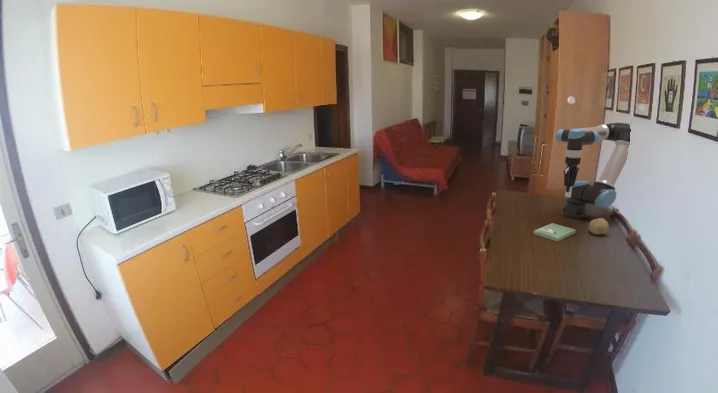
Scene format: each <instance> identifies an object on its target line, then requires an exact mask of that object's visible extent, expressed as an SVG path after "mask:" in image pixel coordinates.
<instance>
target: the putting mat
mask: <svg viewBox="0 0 718 393" xmlns="http://www.w3.org/2000/svg"><path fill="white" fill-rule="evenodd" d="M549 229H552V230H553V231H554V233H553V232H550V231H548V230H549ZM576 231H577V229H575V228H571V227H568V226H563V225H560V224H556V223H554V222H551V223H550V224H547V225H544V226H542V227H539V228H537V229H534V230H533V235H536V236H538V237H542V238H545V239H548V240H552V241H555V242H559V241H561V240H564V239H565V238H568V237H569V236H572V235H574V234H575V233H576Z"/></svg>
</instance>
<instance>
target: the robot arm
mask: <svg viewBox="0 0 718 393" xmlns="http://www.w3.org/2000/svg"><path fill="white" fill-rule="evenodd" d="M628 123H629V122H628ZM628 123H627V122H613V123H604V124H599V125H597V126H591V127H581V128H580V127H579V128H571V129H568V128H567V129H566V128H560V129H558V130H557V132H556V134H555V139H556V141H557V142H562V143H566V144H567V146H566V150H565V156H566V157H565V160H564V164H566V169H564V170H563V175H564V176H563V186H565V192H564V197H565V198H566V201H565V204H564V206H563V208H562V209H561V215H562V216H564V217H567V218H569V219H576V220H577V219H579V220H584V219H587V218H588V217H589V211H588V205H587V204H589V205H593V206H596V207H600V208H607V207H609V206H611V205H613V203H614V202H615V201H616V198H617V191H616V187H615V184H616V182H617V180H618V178H619V176H620V175H621V173H622V170H623V169H624V166H625V165H626V162H627V161H628V159H627V155H628V148H629V145H630V132H631V129H630V125H629V124H628ZM598 141H611V142H614V144H615V147H614V149H613V151H612V153H611V155H610V157H609V158H608V161H607V162H606V164H605V166H604V168H603V170H602V172H601V175H600V176H599V178H598V180H595V181H594V182H593V183H592V184H591V181H589V180H577V177H578V176H577V175H578V173H579V171H580V168H579V167H578V166H579V165H580V164H581V159H582V158H581V157H582V154H583V146H591V145H594V144H596V143H598ZM626 160H627V161H626Z"/></svg>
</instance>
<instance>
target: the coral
mask: <svg viewBox="0 0 718 393" xmlns="http://www.w3.org/2000/svg"><path fill="white" fill-rule="evenodd" d="M588 229H589V231H590V233H592V234H593V235H597V236H598V235H607V234H608V233H609V231H610V227H609V222H608V221H607V220H606V219H605V218H603V217H602V218H601V217H599V218H594V219H592V220H590V222H589V225H588Z"/></svg>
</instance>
